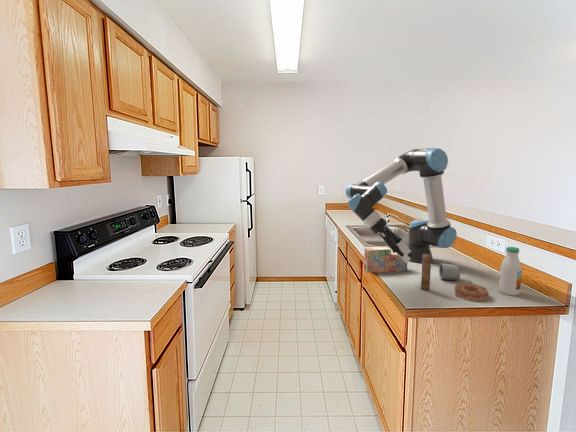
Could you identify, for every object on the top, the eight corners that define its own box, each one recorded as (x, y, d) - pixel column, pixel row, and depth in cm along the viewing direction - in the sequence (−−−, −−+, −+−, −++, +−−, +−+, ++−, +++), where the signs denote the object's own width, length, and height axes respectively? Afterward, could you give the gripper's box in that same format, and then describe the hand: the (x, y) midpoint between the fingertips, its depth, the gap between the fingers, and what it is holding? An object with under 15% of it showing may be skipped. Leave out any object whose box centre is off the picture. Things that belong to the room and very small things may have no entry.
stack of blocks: (402, 267, 186) (403, 245, 184) (407, 271, 180) (408, 248, 178) (364, 269, 185) (364, 247, 183) (367, 272, 179) (367, 249, 177)
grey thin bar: (469, 283, 160) (469, 281, 160) (470, 283, 160) (471, 282, 160) (472, 290, 151) (472, 289, 151) (474, 290, 151) (474, 289, 151)
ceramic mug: (460, 282, 162) (461, 266, 161) (442, 281, 164) (442, 265, 162) (454, 275, 172) (454, 260, 171) (436, 274, 174) (437, 259, 173)
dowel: (420, 287, 156) (422, 253, 154) (429, 288, 155) (431, 254, 153) (421, 290, 153) (422, 255, 150) (429, 291, 152) (431, 256, 149)
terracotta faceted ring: (453, 288, 154) (453, 282, 153) (483, 291, 150) (484, 285, 149) (456, 298, 143) (457, 292, 142) (489, 302, 139) (490, 295, 138)
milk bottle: (510, 297, 143) (514, 250, 140) (494, 290, 151) (497, 246, 148) (524, 294, 146) (528, 249, 142) (508, 288, 153) (511, 245, 150)
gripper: (372, 223, 169) (403, 254, 166) (365, 233, 146) (401, 270, 143) (383, 213, 167) (415, 245, 164) (378, 221, 143) (415, 259, 141)
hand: (408, 256), depth 154 cm, fingers open, 13 cm apart
